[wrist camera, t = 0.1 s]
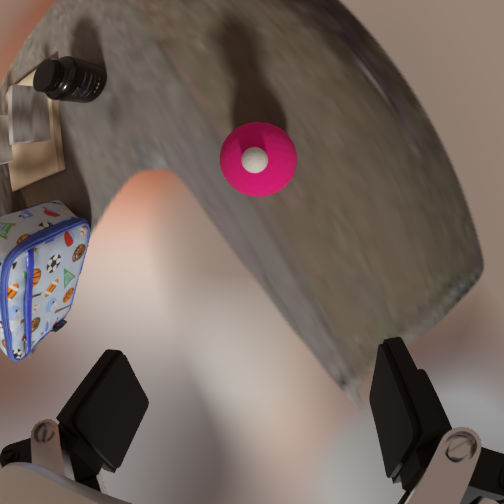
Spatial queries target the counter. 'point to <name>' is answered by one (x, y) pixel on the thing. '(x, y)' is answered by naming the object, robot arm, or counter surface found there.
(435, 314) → the counter surface
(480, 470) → the robot arm
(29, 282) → the lunch box
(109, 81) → the counter surface
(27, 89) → the wooden stand
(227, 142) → the pepper mill
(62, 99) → the supplement bottle
